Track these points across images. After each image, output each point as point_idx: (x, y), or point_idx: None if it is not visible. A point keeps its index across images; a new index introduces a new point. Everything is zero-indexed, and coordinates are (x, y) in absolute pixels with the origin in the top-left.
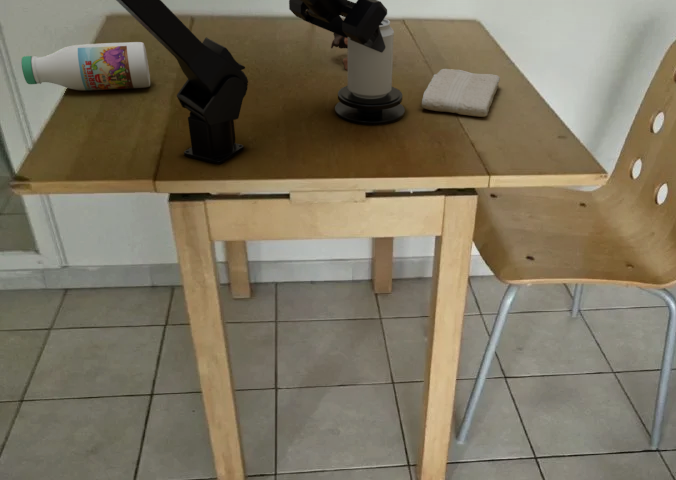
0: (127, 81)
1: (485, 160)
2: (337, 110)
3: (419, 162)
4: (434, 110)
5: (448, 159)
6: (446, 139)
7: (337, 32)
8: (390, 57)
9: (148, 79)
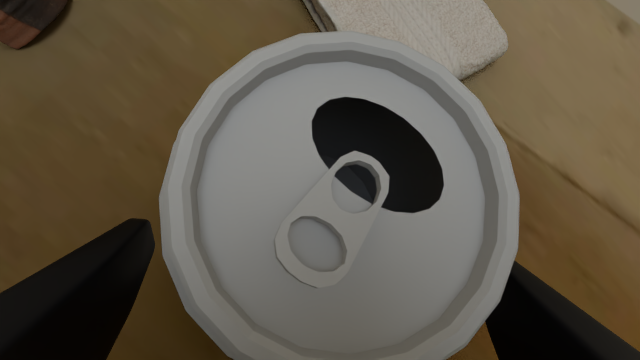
0: None
1: (635, 219)
2: None
3: None
4: None
5: (599, 276)
6: (523, 201)
7: (108, 340)
8: (418, 182)
9: None
